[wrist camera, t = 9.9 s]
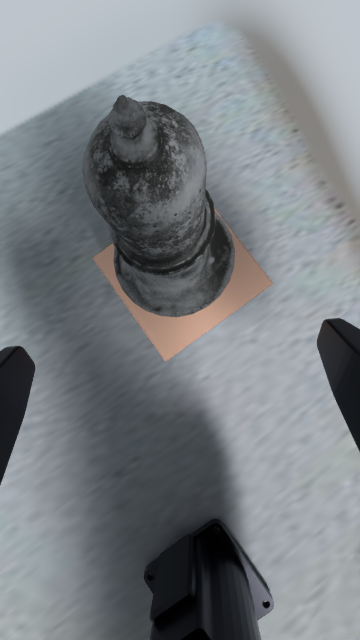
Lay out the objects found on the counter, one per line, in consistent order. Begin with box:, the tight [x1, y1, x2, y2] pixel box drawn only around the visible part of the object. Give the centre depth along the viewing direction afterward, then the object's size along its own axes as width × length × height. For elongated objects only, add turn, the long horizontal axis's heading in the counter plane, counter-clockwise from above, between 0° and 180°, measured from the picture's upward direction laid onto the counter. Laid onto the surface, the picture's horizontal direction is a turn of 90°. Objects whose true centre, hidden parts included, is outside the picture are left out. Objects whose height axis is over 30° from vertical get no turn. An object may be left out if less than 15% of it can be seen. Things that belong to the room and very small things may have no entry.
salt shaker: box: [83, 95, 235, 317], centre depth 10 cm, size 6×6×12 cm
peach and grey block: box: [93, 208, 273, 362], centre depth 18 cm, size 8×8×4 cm
